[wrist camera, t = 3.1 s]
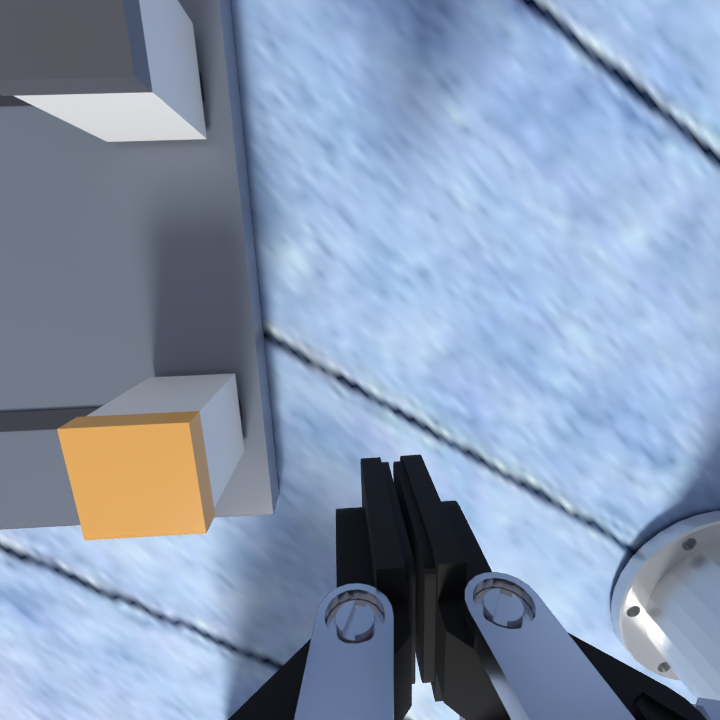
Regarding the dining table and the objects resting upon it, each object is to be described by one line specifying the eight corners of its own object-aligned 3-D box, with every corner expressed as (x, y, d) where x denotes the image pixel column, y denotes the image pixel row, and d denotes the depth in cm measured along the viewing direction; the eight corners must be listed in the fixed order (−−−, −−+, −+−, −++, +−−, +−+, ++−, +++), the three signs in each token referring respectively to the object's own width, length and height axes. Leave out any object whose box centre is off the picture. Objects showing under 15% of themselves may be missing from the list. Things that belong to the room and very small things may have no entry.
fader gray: (195, 20, 15) (103, -127, 9) (209, 141, 16) (134, 76, 10) (83, 22, 15) (-81, -126, 9) (105, 144, 16) (-30, 81, 10)
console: (224, -57, 17) (208, -101, 14) (279, 492, 23) (273, 515, 21) (-225, -51, 16) (-307, -96, 14) (-39, 510, 23) (-77, 535, 20)
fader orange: (236, 371, 19) (189, 422, 13) (246, 452, 20) (206, 533, 14) (146, 375, 19) (56, 428, 13) (161, 456, 20) (84, 540, 14)
